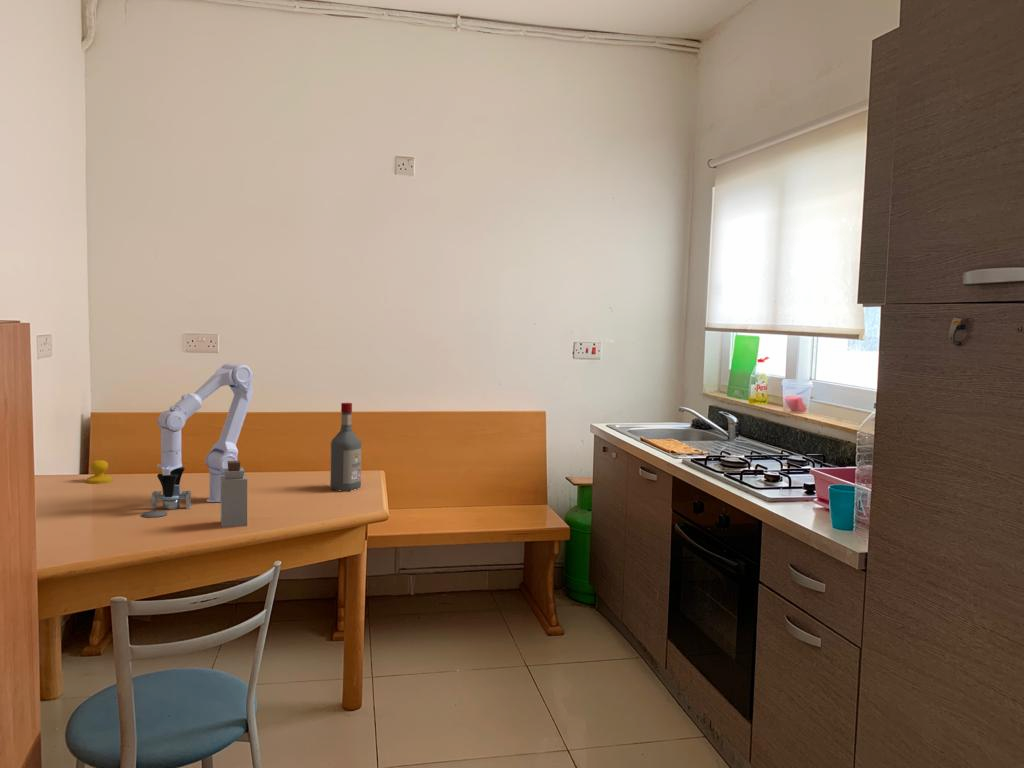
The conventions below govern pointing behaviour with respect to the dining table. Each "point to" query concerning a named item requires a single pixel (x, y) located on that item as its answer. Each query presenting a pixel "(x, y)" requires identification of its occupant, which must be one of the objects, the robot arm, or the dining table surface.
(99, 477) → the doorknob
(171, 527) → the dining table surface
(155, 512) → the pad
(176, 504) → the metal ball with blocks
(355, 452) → the liquor
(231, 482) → the perfume bottle
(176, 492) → the cap
